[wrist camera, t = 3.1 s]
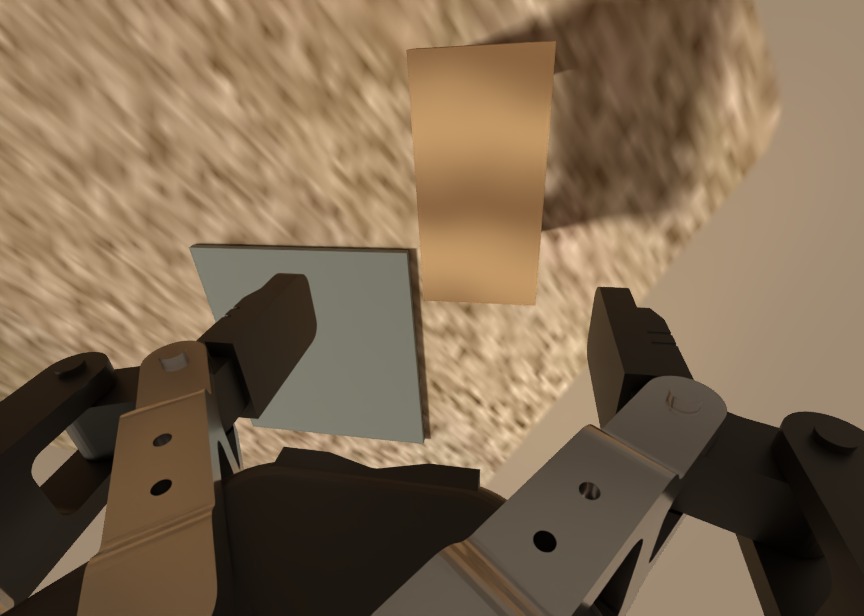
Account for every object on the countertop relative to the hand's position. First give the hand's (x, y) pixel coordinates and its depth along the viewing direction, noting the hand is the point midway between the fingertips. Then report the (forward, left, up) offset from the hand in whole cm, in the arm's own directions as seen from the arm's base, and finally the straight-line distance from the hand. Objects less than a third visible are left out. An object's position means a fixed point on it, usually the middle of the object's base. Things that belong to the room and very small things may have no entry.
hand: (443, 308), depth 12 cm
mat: (+17, -15, -19) cm, 30 cm away
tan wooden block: (0, 0, -19) cm, 19 cm away
